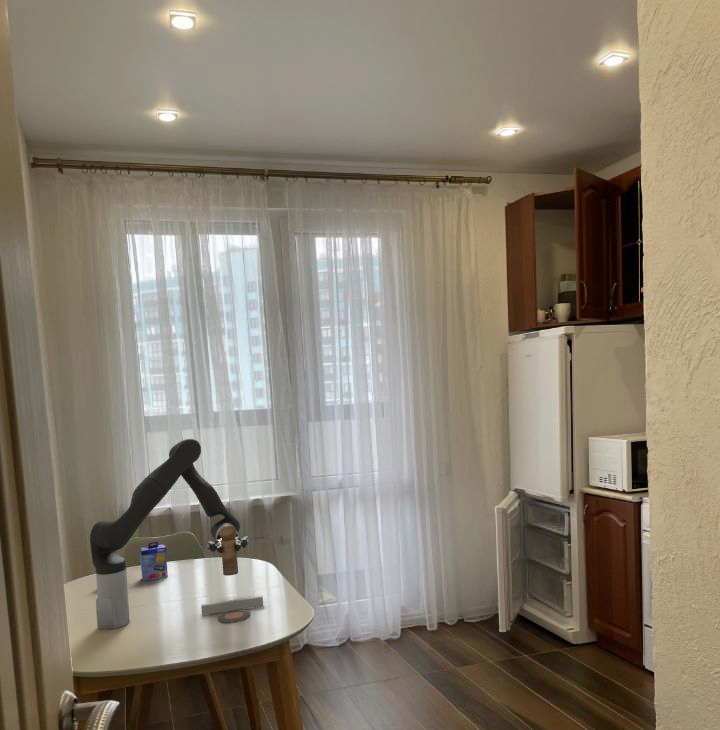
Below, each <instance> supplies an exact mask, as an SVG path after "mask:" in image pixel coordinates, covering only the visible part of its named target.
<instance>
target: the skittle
mask: <svg viewBox="0 0 720 730" xmlns="http://www.w3.org/2000/svg"><path fill="white" fill-rule="evenodd" d="M219 534H220V538H221V546H222V553H221V560H222V575H223V576H235V575H237V574H238V573H239V565H238V564H239V563H238V551H237V549H236V538H235V537H236V529H235V527H234V526H232V525H225V526H223V527H222V528H221V529H220V533H219Z"/></svg>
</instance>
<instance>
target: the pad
mask: <svg viewBox="0 0 720 730" xmlns="http://www.w3.org/2000/svg"><path fill="white" fill-rule="evenodd" d="M249 618H250V611H248V610H246V609H240V610H233V611H227V612H221V613H220V614H219V615H218V616H217V620H218V622H220V623H222V622H223V623H222V624H232V623H231V622H235V623H240V622H243V621H245V620H247V619H249ZM239 621H240V622H239ZM225 622H226V623H225Z"/></svg>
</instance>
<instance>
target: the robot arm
mask: <svg viewBox="0 0 720 730" xmlns="http://www.w3.org/2000/svg"><path fill="white" fill-rule="evenodd" d="M201 447H202V446H201V444H200V442H199V441H198V440H196V439H194V438H190V437H189V438H185V439H182V440H181V441H179V442H177V443H175V444H174V445H173V446H172V447H171V448H170V450H169V452H168V459H167V460H165V461H164V462H163V463H162V464H160V465H159V466H158V467H156V468H155V469H154V470H153V471H152V472H150V473H149V474H148V475H147V476H146V477H145V478H144V479H143V480H142V481H141V482H140V483H139V484H138V485H137V487H135V489H134V491H133V493H132V496H131V501H130V504H129V506H128V508H127V509H126V511H124V513H123V514H122V515H121V516H120V517H119V518H117V519H116V520H104V519H103V520H99V521H97V522H96V523H95V524H94V525H93V527H92V528H91V530H90V533H89V534H90V535H89V542H90V551H91V552H90V553H91V560H92V561H91V562H92V565H93V566H94V568H95V576H96V577H95V578H96V591H97V597H96V598H95V608H96V622H97V623H96V625H97V627H96V628H97V629H98V630H115V629H118V628H122V627H124V626H126V625H128V624H129V623H130V622H131V620H130V619H131V618H130V604H129V603H130V601H129V593H128V592H129V590H128V573H127V568H126V564H127V562H126V559H125V558H124V557H123V556H122V555H120V554H119V553H118V550H121V549H123V548H124V547H125V546H126V545H127V544H128V542H129V541H130V540H131V538H132V536H134V534H135V532H136V531H137V530H138V528H139V527H140V526H141V524H142V523H143V522H144V521H145V519H146V518H147V516H149V514H151V512H152V511H153V509H155V507H157V506H158V505H159V504H160V502H162V499H164V498H165V496H166V495H167V494H168V493H169V491H170V490H171V489H172V488H173V486H174V485H175V484H176V483H177V481H178V480H179V478H181V477H182V478H183V480H184V481H185V482H186V484H187V485H188V487H190V489H191V490H192V492H193V493H194V494H195V497H196V499H197V500H198V502H199V504H200V505H201V507H202V509H203V511H204V513H205V514H206V516H207V517H208V518H213V517H215V516H223V518H222V519H220V520H218V521H217V522H215V523H213V524H212V525H211V526H210V534H211V536H212V538H213V539H214V540H215V541H213V540H207V541H206V542H207V543H206V546H207V549H208V550H209V552H213V553H214V552H216V551H217V553H219V554H222V546H221V538H220V534H219V533H220V529H221V528H222V527H223V526H225V525H232V526H234V527H235V529H236V537H235V538H236V549H237V552H239V551H240V550H241V549H242V548H243V549H245V548H247V546H248V545H249V536H248V535H245V536H244V537H242V538H241V537H240V536H239V534H238V533H239V531H240V529H241V525H240V521H239V520H238V519H237V517H236V516H234V515H233V514H232V513H231V512H230V511H229V510H228V509H227V508H226V506H225V505H224V503H223V501H222V500H221V497H220V496H219V493H218V492H217V490H216V489H215V488H214V486H212V484H210V483H209V482H208V481H207V480H206V479H205V478H203V476H201V474H200V473H199V472H198V470H197V469H196V467H195V465H194V463H196V462H197V460H199V458H200V456H201V454H202V448H201ZM121 556H122V557H123V558H124V559H123V558H122V557H121Z"/></svg>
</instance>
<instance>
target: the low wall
mask: <svg viewBox="0 0 720 730" xmlns="http://www.w3.org/2000/svg"><path fill="white" fill-rule="evenodd" d="M200 607H201V616H205V615H206V616H207V615H212V614H213V615H214V614H218V613H220V614H221V613H225V612H228V611H233V610H246V609H247V610H248V609H253V608H259V607H264V596H263V595H258V596H251V597H245V598H244V597H243V598H238V599H231V600H225V601H224V600H223V601H216V602H209V603H202V604H201V606H200Z"/></svg>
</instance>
